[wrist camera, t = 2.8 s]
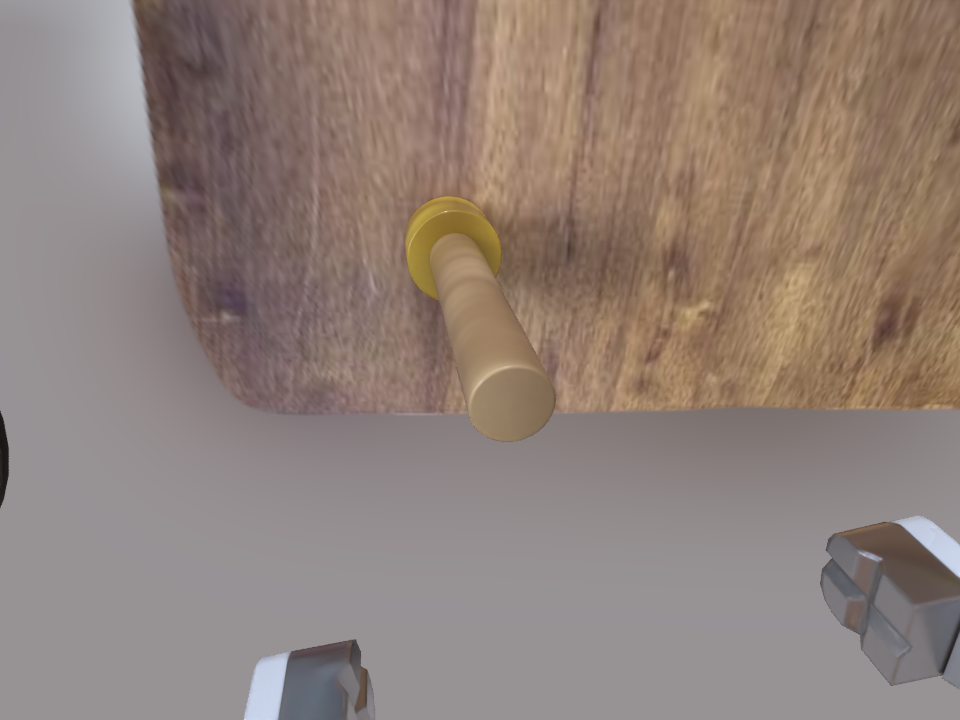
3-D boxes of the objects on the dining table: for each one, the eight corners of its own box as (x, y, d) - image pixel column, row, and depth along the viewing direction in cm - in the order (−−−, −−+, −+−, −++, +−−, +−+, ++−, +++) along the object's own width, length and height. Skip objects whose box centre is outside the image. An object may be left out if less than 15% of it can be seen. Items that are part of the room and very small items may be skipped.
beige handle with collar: (413, 288, 31) (445, 486, 17) (396, 204, 29) (416, 349, 15) (496, 273, 31) (595, 454, 17) (485, 188, 29) (588, 315, 15)
